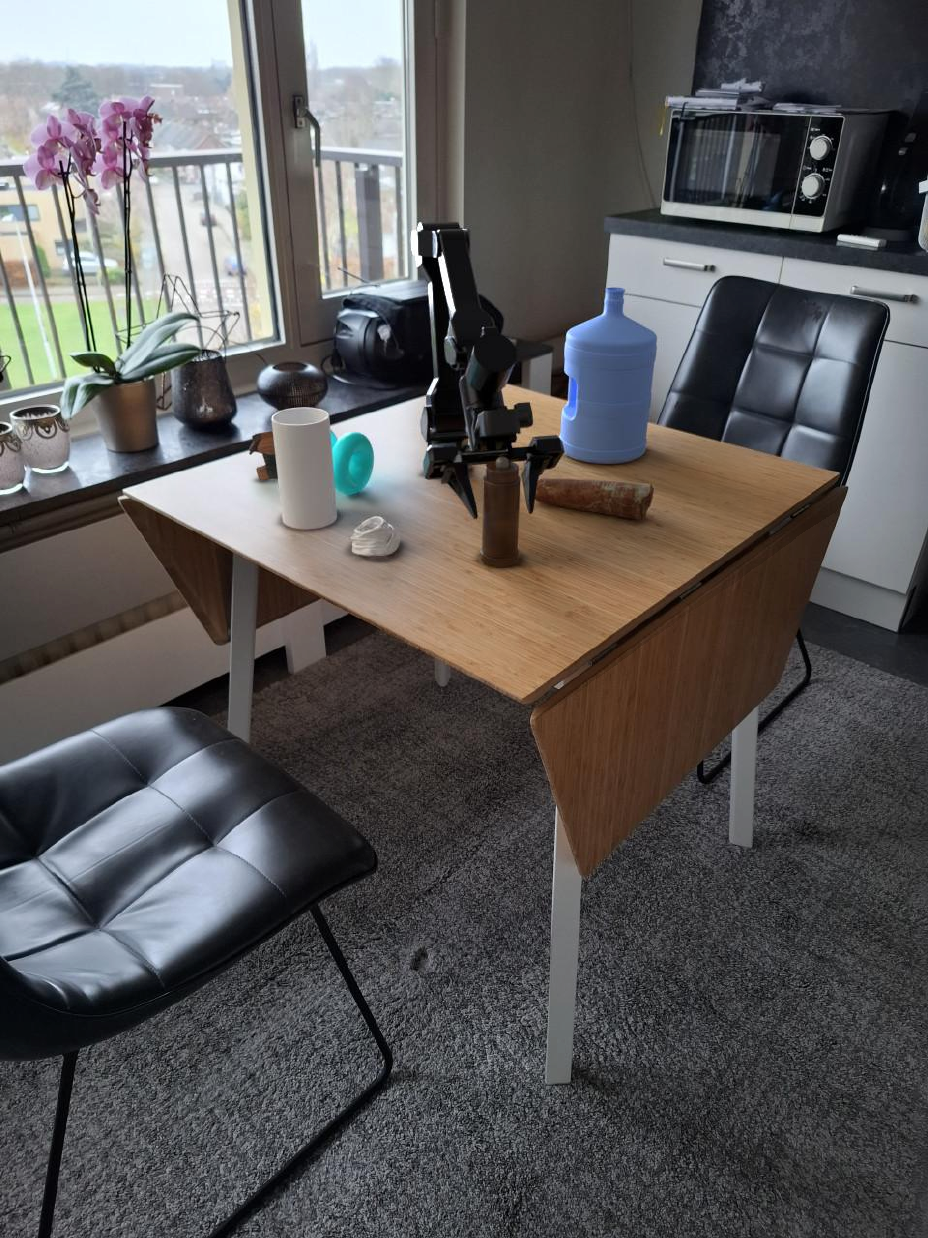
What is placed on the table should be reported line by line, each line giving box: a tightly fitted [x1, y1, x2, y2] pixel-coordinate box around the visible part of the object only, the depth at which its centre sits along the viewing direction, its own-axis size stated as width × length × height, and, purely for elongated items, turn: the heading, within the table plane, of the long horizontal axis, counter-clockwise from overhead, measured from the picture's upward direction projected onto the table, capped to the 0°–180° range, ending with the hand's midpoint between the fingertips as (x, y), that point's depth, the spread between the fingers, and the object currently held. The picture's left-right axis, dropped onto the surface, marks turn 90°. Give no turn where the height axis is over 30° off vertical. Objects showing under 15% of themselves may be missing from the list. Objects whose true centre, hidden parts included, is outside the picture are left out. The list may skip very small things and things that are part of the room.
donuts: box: [330, 428, 375, 496], centre depth 142 cm, size 10×10×10 cm
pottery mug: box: [248, 430, 278, 481], centre depth 150 cm, size 12×10×8 cm
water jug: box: [558, 286, 658, 465], centre depth 153 cm, size 16×16×28 cm
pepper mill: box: [479, 457, 522, 568], centre depth 119 cm, size 5×5×15 cm
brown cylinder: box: [535, 477, 655, 520], centre depth 136 cm, size 6×19×6 cm, turn 65°
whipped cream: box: [350, 516, 400, 557], centre depth 124 cm, size 8×7×5 cm
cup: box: [271, 407, 338, 530], centre depth 130 cm, size 8×8×16 cm
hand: (503, 515), depth 118 cm, fingers open, 7 cm apart
